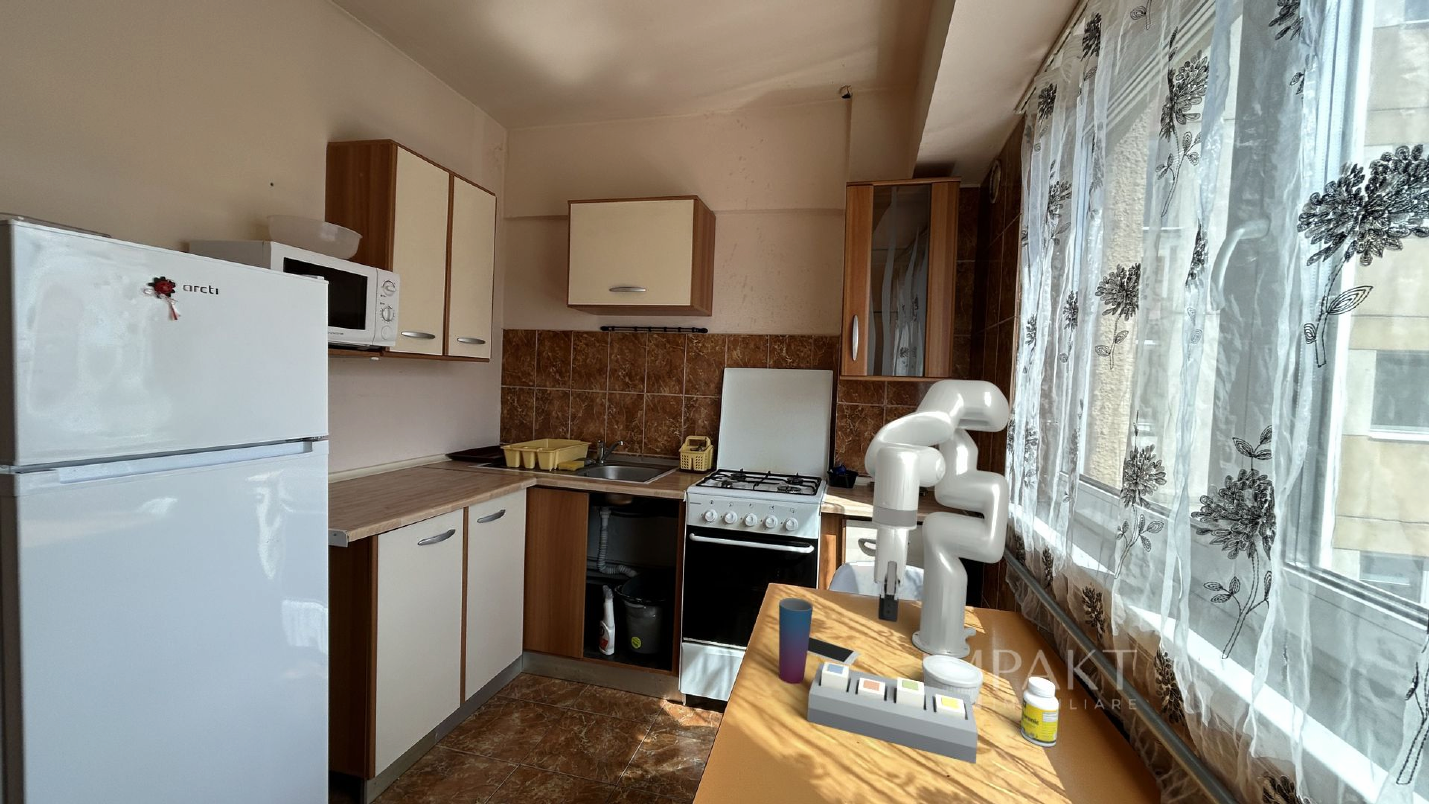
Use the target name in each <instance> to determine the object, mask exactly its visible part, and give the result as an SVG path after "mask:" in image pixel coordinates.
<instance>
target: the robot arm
mask: <svg viewBox="0 0 1429 804" xmlns="http://www.w3.org/2000/svg"><path fill="white" fill-rule="evenodd" d="M1009 418H1010V406H1009V402H1008V400H1007V398H1006V397H1005V395H1004V394H1003V392H1002V391H1001V389H1000V388H999V387H998V386H997V385H995V384H993V383H992V382H990V381H985V380H971V379H970V380H969V379H968V380H967V379H966V380H965V379H964V380H963V379H943V380H939V381H936V382H935V383H933V384H932V385H931V386H930V387H929V389H928V391H927V393H926V394H925V396H924V397H923V399H922V401H921V403H920V404H919V405H918V407H917V408H916V410H915V412H912V413H908V414H906V415H904V416H901V417H899V418H897V419H895V420H892V421H890V422H888V423H887V424H885V425H883V426H882V427H881V428H880V429H879V430H878V431H877V433H876V434H875V436H874V437H873V439H871V442H870V443H869V446H868V448H867V450H866V453H865V457H864V467H865V471H866V473H867V474H868V475H869V476H870V477H871V478H872V479H874V485H873V486H874V487H873V501H872V502H873V504H872V516H871V517H872V518H871V523H872V524H873V525H875V526H877V531H876V537H875V550H874V551H875V552H874V553H875V554H874V567H873V571H874V572H873V582H874V583H875V584H877V585H878V583H881V588H880V589H881V590H880V593H879V597H878V598H879V599H878V612H877V613H878V615H877V619H879V620H880V621H885V622H891V623H896V622H898V613H899V588H901V587H903V586H904V581H905V575H906V567H907V560H908V559H907V558H908V550H909V549H908V547H909V535H910V534H909V533H910V532H909V531H913V530H916V529H917V526H918V524H917V521H918V510H919V509H918V508H919V495H920V494H919V493H920V487H923V488H928V487H933V486H934V498H935V500H936V502H938V503H939V504H940V505H943V506H945V507H949V508H953V509H959V510H965V511H971V512H977V513H981V514H983V516H984V518H980V517H975V516H969V515H964V514H958V513H952V512H945V511H935V512H931V513H930V514H927V515H926V516H925V518H924V519H923V522H922V527H921V529H922V530H921V532H922V533H921V534H922V541H923V542H922V543H923V579H922V589H921V590H922V591H921V605H920V618H919V619H920V620H919V621H920V622H919V630H918V631H915V632H914V633H913V634H912V637H911V638H912V639H911V641H912V643H913V645H914V646H915V647H917V648H918V649H919V650H921V651H923V652H924V653H927V654H929V655H931V656H932V655H943V656H950V657H954V658H957V659H962V658H967V657H968V656H969V654H970V651H971V648H970V647H971V646H970V645H969V643H968V642H966V640H967V638H969V637H972V636H976V634H977V630H976V628H975V627H973V626H971V627H970V626H968V627H965V617H966V602H967V586H968V574H967V571H966V569H965V567H964V564H963V563H962V561H961V560H960V559H959V558H962V559H963V558H964V559H967V560H973V561H977V562H982V563H988V564H994V563H998V562H999V561H1000V560H1002V559H1003V558H1002V557H1003V555H1004V551H1005V545H1006V537H1007V526H1008V516H1009V506H1010V485H1009V482H1008V480H1007V479H1006V477H1005V476H1004V475H1002V474H1000V473H997V472H991V471H983V470H978V469H977V464H978V455H979V449H978V446H977V444H976V443H975V441H974V440H973V439H972V437H971V436H970V434H969V433H968V432H967V431H966V430H968V431H980V432H981V431H982V432H989V433H990V432H992V433H993V432H994V433H996V432H999V431H1002V430H1004V429H1005V428H1006V426H1007V425H1008V422H1009ZM935 445H938V447H939V448H938V449H939V450H938V449H936V448H935V447H932V446H935Z"/></svg>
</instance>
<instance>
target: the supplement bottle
mask: <svg viewBox="0 0 1429 804" xmlns="http://www.w3.org/2000/svg"><path fill="white" fill-rule="evenodd" d="M1027 688H1028V689H1025V690H1024V691H1023V692H1022V693H1023V694H1022V705H1021V707H1022V708H1021V721H1020V733H1021V735H1022V736H1023V738H1025V740H1027V741H1029V742H1031V743H1032V744H1035V745H1037V746H1040V747H1044V748H1045V747H1047V748H1048V747H1054V746H1055V745H1056V743H1057V737H1058V725H1059V724H1058V723H1059V722H1058V721H1059V709H1060V707H1059V705H1060V704H1059V700H1058V699H1057V697H1056V696H1055V693H1056V686H1055V684H1054V683H1053V682H1051V681H1050V680H1048V679H1045V678H1042V677H1040V676H1039V677H1038V676H1031V677H1029V678H1028V684H1027Z"/></svg>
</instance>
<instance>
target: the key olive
mask: <svg viewBox="0 0 1429 804" xmlns="http://www.w3.org/2000/svg"><path fill="white" fill-rule="evenodd" d="M896 680H897V697H896V704H901V705H905V706H909V707H914V708H918V709H922V710H923V708H924V686H925V684H924V681H923V682H921V681H916V680H913V679H907V678H904V677H901V676H900V677H899V676H897V679H896Z"/></svg>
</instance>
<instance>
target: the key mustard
mask: <svg viewBox="0 0 1429 804" xmlns="http://www.w3.org/2000/svg"><path fill="white" fill-rule="evenodd" d="M935 713H940V714H944V715H948V716H953V717H957V718H962V719H965V709H964V704H963V700H961V699H956V698H951V697H947V696H942V695H938V694H936V697H935Z"/></svg>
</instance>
